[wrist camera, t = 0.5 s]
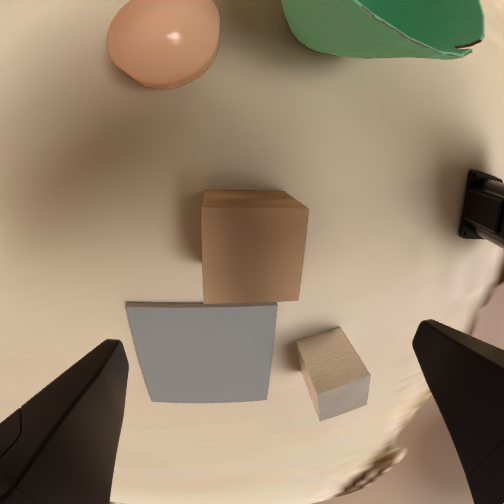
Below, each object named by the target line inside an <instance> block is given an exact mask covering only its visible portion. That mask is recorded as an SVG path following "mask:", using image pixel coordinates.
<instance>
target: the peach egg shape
mask: <svg viewBox="0 0 504 504" xmlns="http://www.w3.org/2000/svg"><path fill="white" fill-rule="evenodd" d="M219 28H220V17H219V12H218V10H217V7H216V5H215V4H214V2H213V1H212V0H130V1H129V2H128V3H127V4H126V5H124V6H123V7H122V8H121V9H120V11H119V12H118V13H117V14H116V16H115V17H114V19H113V21H112V22H111V24H110V27H109V30H108V34H107V50H108V53H109V55H110V58H111V59H112V61H113V62H114V63H115V64H116V65H117V66H118V67H119V68H120V69H122V70H123V71H124V72H126V73H127V74H128V75H130V76H131V77H132V78H134V79H135V80H136V81H138V82H139V83H141V84H143V85H145V86H147V87H151V88H156V89H170V88H176V87H180V86H183V85H186V84H188V83H190V82H192V81H194V80H195V79H197V78H198V77H200V76H201V75H202V74H203V73H204V72H205V71H206V70H207V69H208V68H209V67H210V66H211V64H212V63H213V61H214V59H215V57H216V54H217V51H218V45H219Z"/></svg>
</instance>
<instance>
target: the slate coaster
mask: <svg viewBox="0 0 504 504" xmlns="http://www.w3.org/2000/svg"><path fill="white" fill-rule="evenodd" d="M277 306H278V305H277V303H276V302H257V303H222V304H204V303H127V305H126V311H127V315H128V320H129V324H130V328H131V332H132V336H133V340H134V344H135V348H136V352H137V356H138V359H139V363H140V366H141V370H142V373H143V376H144V379H145V383H146V386H147V389H148V392H149V395H150V398H151V401H152V402H169V403H228V402H247V401H260V400H267V395H268V387H269V379H270V370H271V362H272V353H273V344H274V335H275V326H276V316H277Z"/></svg>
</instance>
